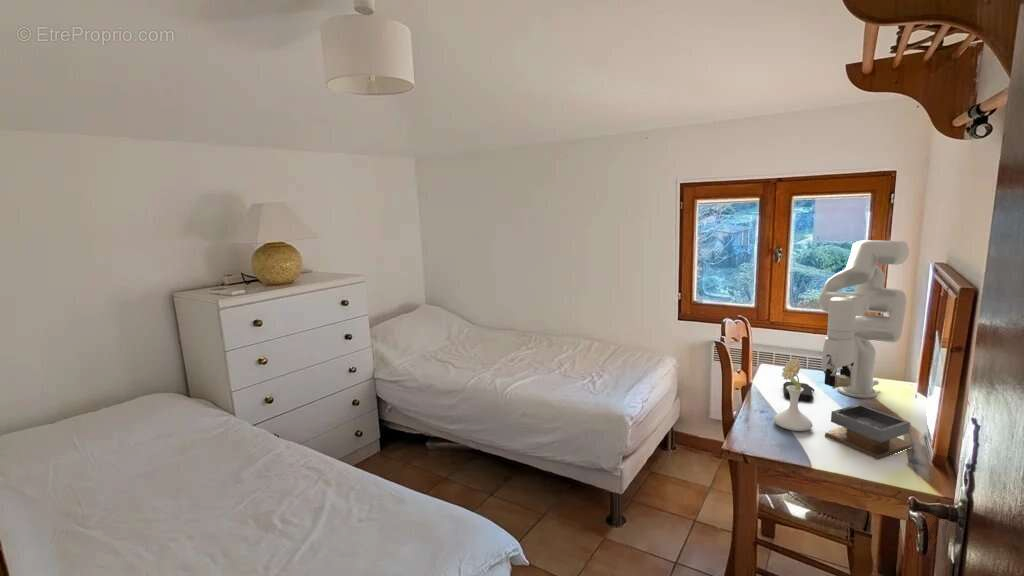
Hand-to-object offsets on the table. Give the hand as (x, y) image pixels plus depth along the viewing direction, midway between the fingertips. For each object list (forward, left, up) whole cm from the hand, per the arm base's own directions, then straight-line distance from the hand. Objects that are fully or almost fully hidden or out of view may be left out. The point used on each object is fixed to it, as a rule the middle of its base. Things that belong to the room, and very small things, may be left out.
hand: (837, 382), depth 164 cm
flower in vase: (+18, -1, -13) cm, 23 cm away
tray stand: (+7, +15, -13) cm, 21 cm away
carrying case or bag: (-9, -20, -14) cm, 26 cm away
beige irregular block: (-1, 0, -2) cm, 2 cm away
